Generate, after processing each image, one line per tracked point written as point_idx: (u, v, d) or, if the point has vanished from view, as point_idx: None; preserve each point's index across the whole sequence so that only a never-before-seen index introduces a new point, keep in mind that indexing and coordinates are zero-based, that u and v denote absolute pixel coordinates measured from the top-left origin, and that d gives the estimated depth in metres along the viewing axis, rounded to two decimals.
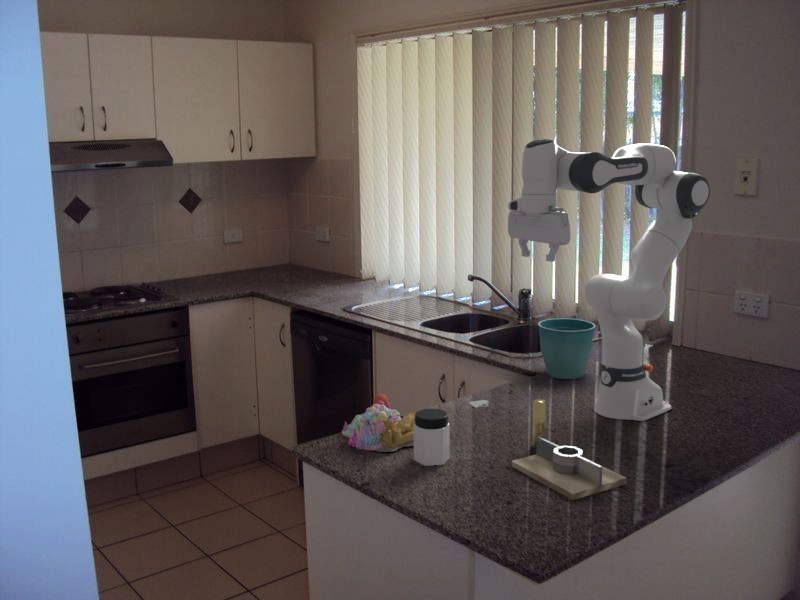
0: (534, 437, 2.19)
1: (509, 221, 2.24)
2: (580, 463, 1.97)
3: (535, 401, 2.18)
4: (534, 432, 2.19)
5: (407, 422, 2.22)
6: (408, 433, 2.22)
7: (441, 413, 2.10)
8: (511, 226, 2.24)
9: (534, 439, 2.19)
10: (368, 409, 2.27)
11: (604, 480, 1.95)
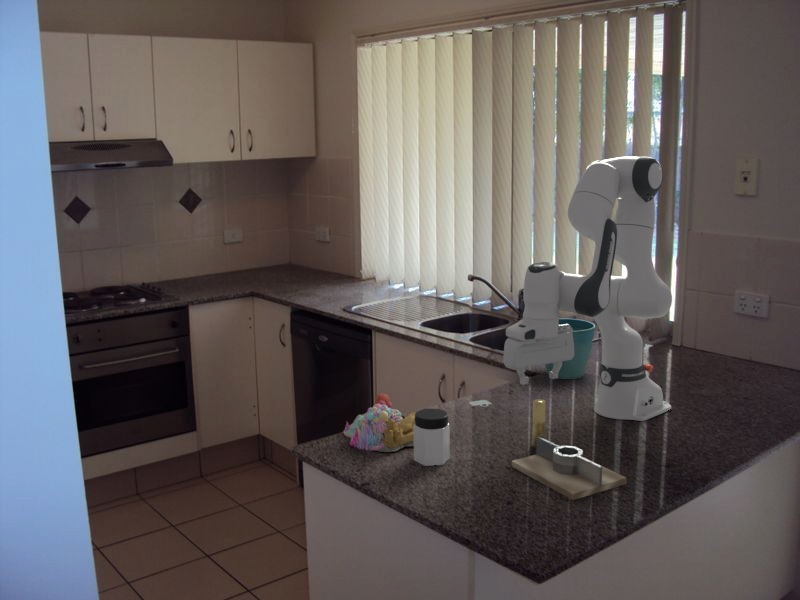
0: (534, 437, 2.19)
1: (517, 353, 2.09)
2: (580, 463, 1.97)
3: (535, 401, 2.18)
4: (534, 432, 2.19)
5: (409, 422, 2.22)
6: (410, 433, 2.21)
7: (441, 413, 2.10)
8: (517, 357, 2.09)
9: (534, 439, 2.19)
10: (370, 409, 2.27)
11: (604, 480, 1.95)
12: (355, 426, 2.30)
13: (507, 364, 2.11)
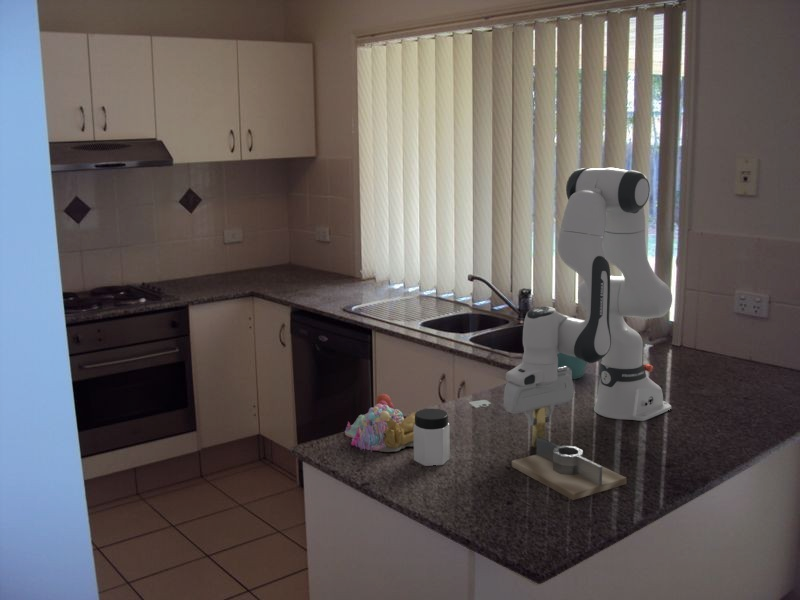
0: (534, 437, 2.19)
1: (517, 398, 2.11)
2: (580, 463, 1.97)
3: None
4: (534, 432, 2.19)
5: (410, 422, 2.22)
6: (411, 433, 2.21)
7: (441, 413, 2.10)
8: (517, 402, 2.12)
9: (534, 439, 2.19)
10: (371, 409, 2.27)
11: (604, 480, 1.95)
12: (356, 426, 2.30)
13: (507, 408, 2.13)
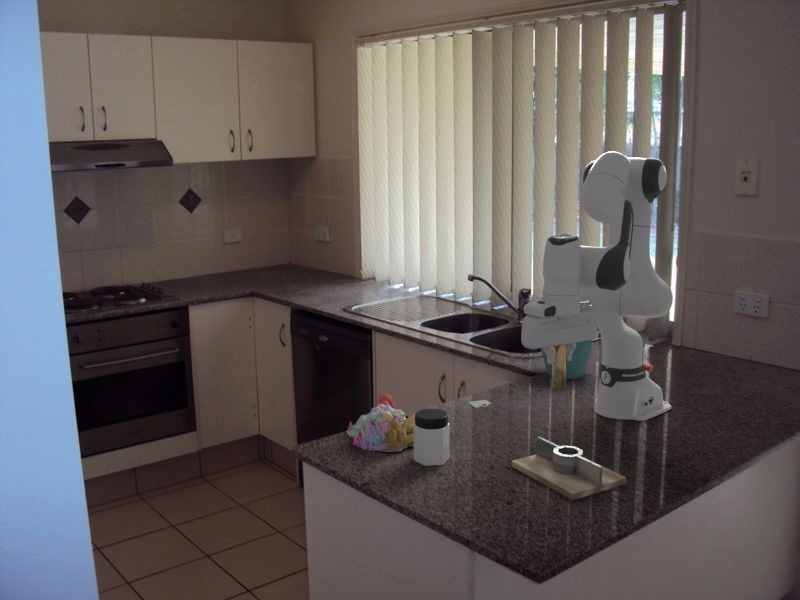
0: (554, 377, 2.02)
1: (536, 331, 1.94)
2: (580, 463, 1.97)
3: None
4: (554, 372, 2.01)
5: (412, 422, 2.22)
6: (413, 433, 2.21)
7: (441, 413, 2.10)
8: (536, 336, 1.95)
9: (554, 379, 2.02)
10: (373, 409, 2.26)
11: (604, 480, 1.95)
12: (358, 426, 2.30)
13: (525, 343, 1.96)
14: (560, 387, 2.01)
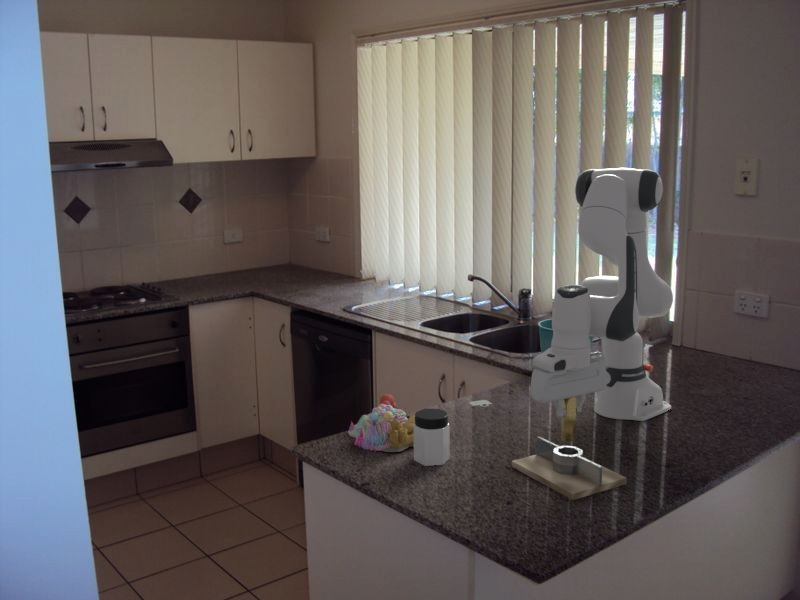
0: (564, 430, 1.99)
1: (546, 385, 1.91)
2: (580, 463, 1.97)
3: None
4: (564, 424, 1.99)
5: (414, 422, 2.22)
6: None
7: (441, 413, 2.10)
8: (546, 390, 1.92)
9: (563, 432, 1.99)
10: (374, 409, 2.26)
11: (604, 480, 1.95)
12: (360, 426, 2.30)
13: (535, 397, 1.93)
14: (570, 439, 1.99)
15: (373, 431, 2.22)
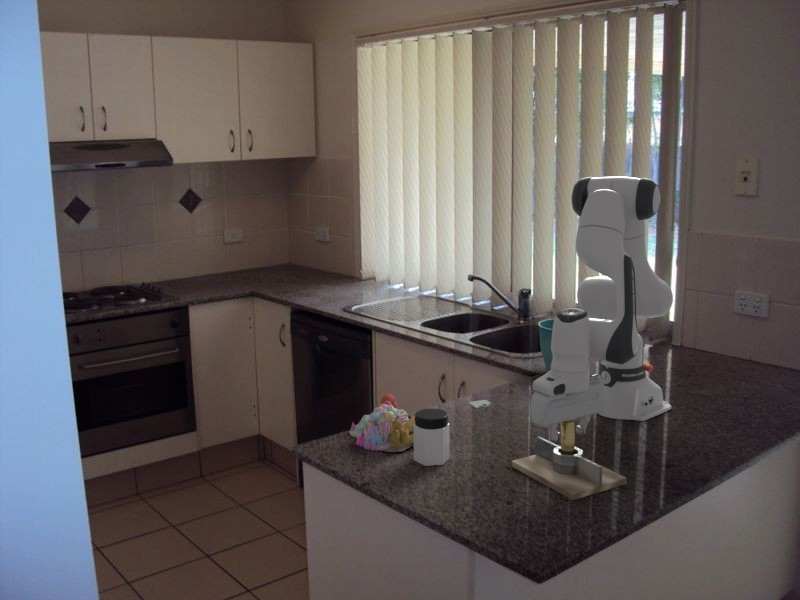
0: None
1: (545, 409, 1.92)
2: (580, 463, 1.97)
3: None
4: None
5: None
6: None
7: (441, 413, 2.10)
8: (545, 414, 1.93)
9: None
10: (376, 409, 2.26)
11: (604, 480, 1.95)
12: (361, 426, 2.30)
13: (535, 421, 1.94)
14: None
15: (374, 431, 2.22)
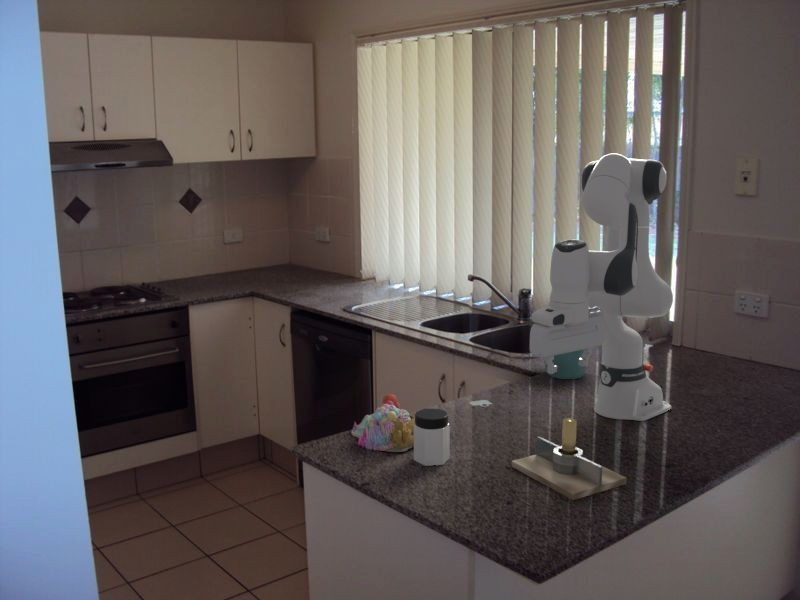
0: None
1: (545, 340, 1.91)
2: (580, 463, 1.97)
3: (565, 420, 1.99)
4: None
5: None
6: None
7: (441, 413, 2.10)
8: (545, 345, 1.92)
9: None
10: (378, 409, 2.26)
11: (604, 480, 1.95)
12: (363, 426, 2.30)
13: (534, 352, 1.93)
14: None
15: (376, 431, 2.22)
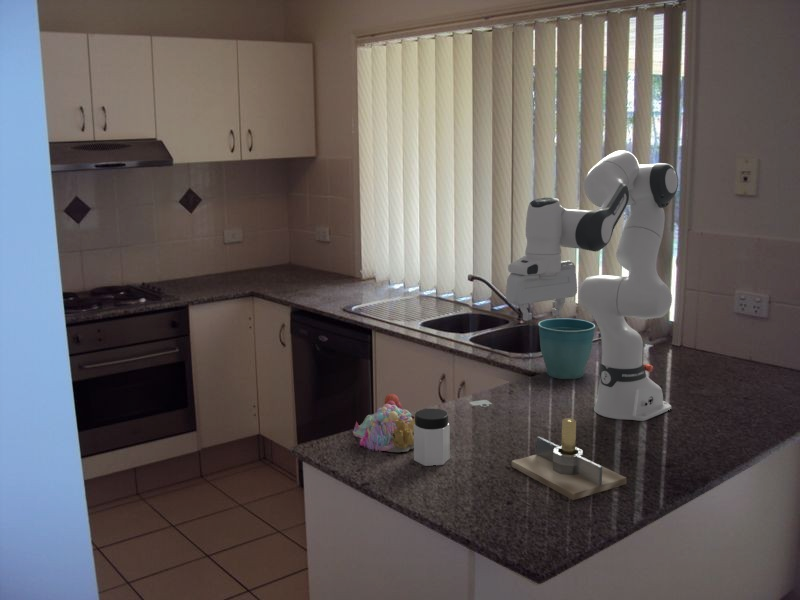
0: None
1: (520, 288, 2.08)
2: (580, 463, 1.97)
3: (564, 420, 1.99)
4: None
5: None
6: None
7: (441, 413, 2.10)
8: (520, 292, 2.09)
9: None
10: (379, 409, 2.26)
11: (604, 480, 1.95)
12: (365, 426, 2.30)
13: (510, 300, 2.10)
14: None
15: (378, 431, 2.22)
